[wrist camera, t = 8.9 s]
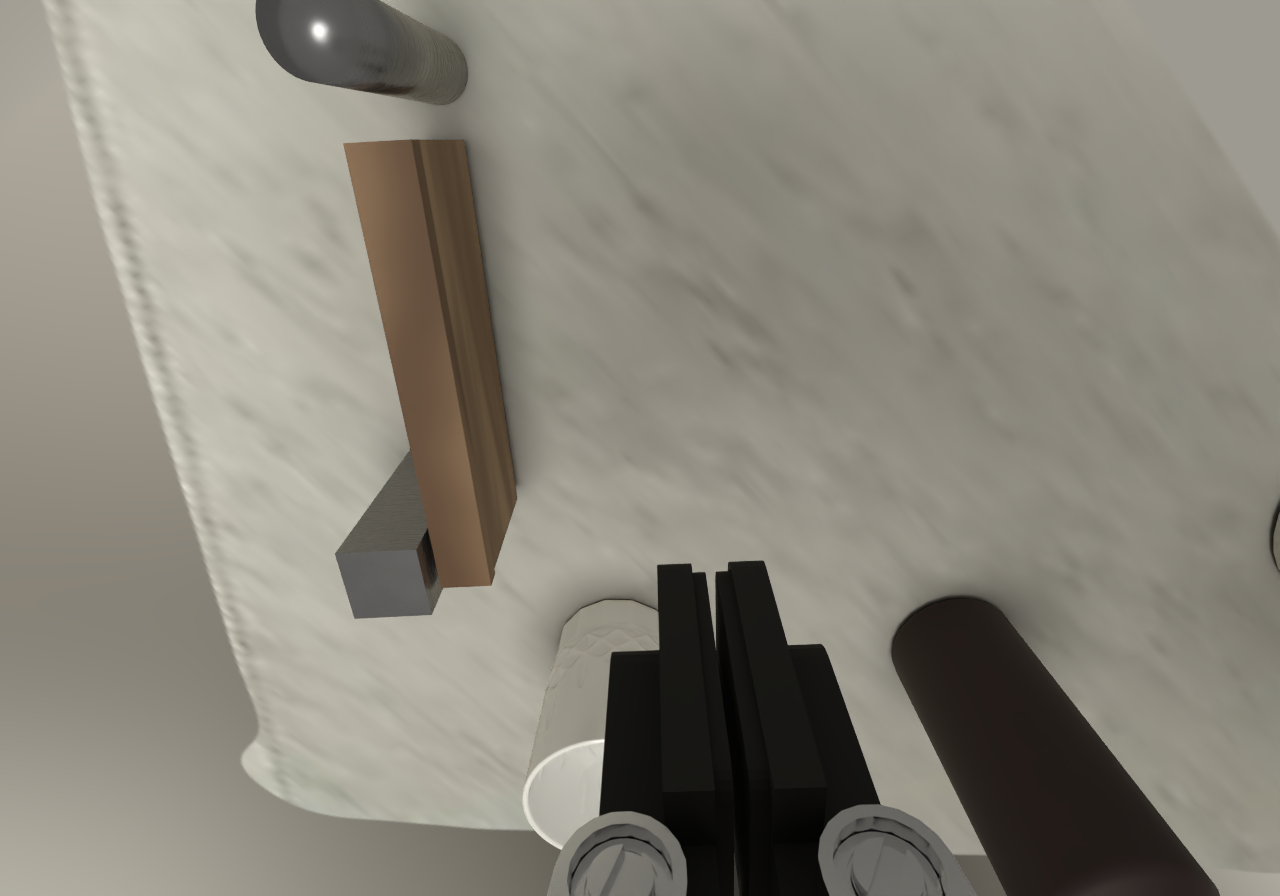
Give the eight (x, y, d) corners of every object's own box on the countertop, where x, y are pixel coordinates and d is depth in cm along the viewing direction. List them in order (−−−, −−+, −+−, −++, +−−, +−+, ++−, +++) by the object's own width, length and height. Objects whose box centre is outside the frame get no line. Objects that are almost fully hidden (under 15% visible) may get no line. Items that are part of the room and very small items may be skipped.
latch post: (471, 445, 32) (415, 549, 24) (481, 499, 33) (431, 614, 25) (410, 449, 32) (334, 553, 24) (422, 502, 33) (354, 618, 25)
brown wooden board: (466, 140, 26) (411, 139, 19) (519, 498, 32) (491, 585, 26) (415, 142, 26) (343, 143, 19) (478, 499, 32) (441, 587, 26)
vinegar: (1008, 583, 36) (1388, 1032, 18) (1009, 674, 39) (1337, 1141, 21) (884, 607, 37) (1129, 1064, 19) (893, 695, 39) (1114, 1166, 21)
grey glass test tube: (461, 31, 25) (346, -42, 15) (472, 102, 26) (371, 80, 16) (399, 35, 25) (242, -34, 15) (412, 106, 26) (272, 85, 16)
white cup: (533, 601, 36) (500, 754, 27) (673, 578, 36) (687, 727, 27) (567, 704, 40) (547, 871, 31) (696, 684, 39) (715, 849, 30)
